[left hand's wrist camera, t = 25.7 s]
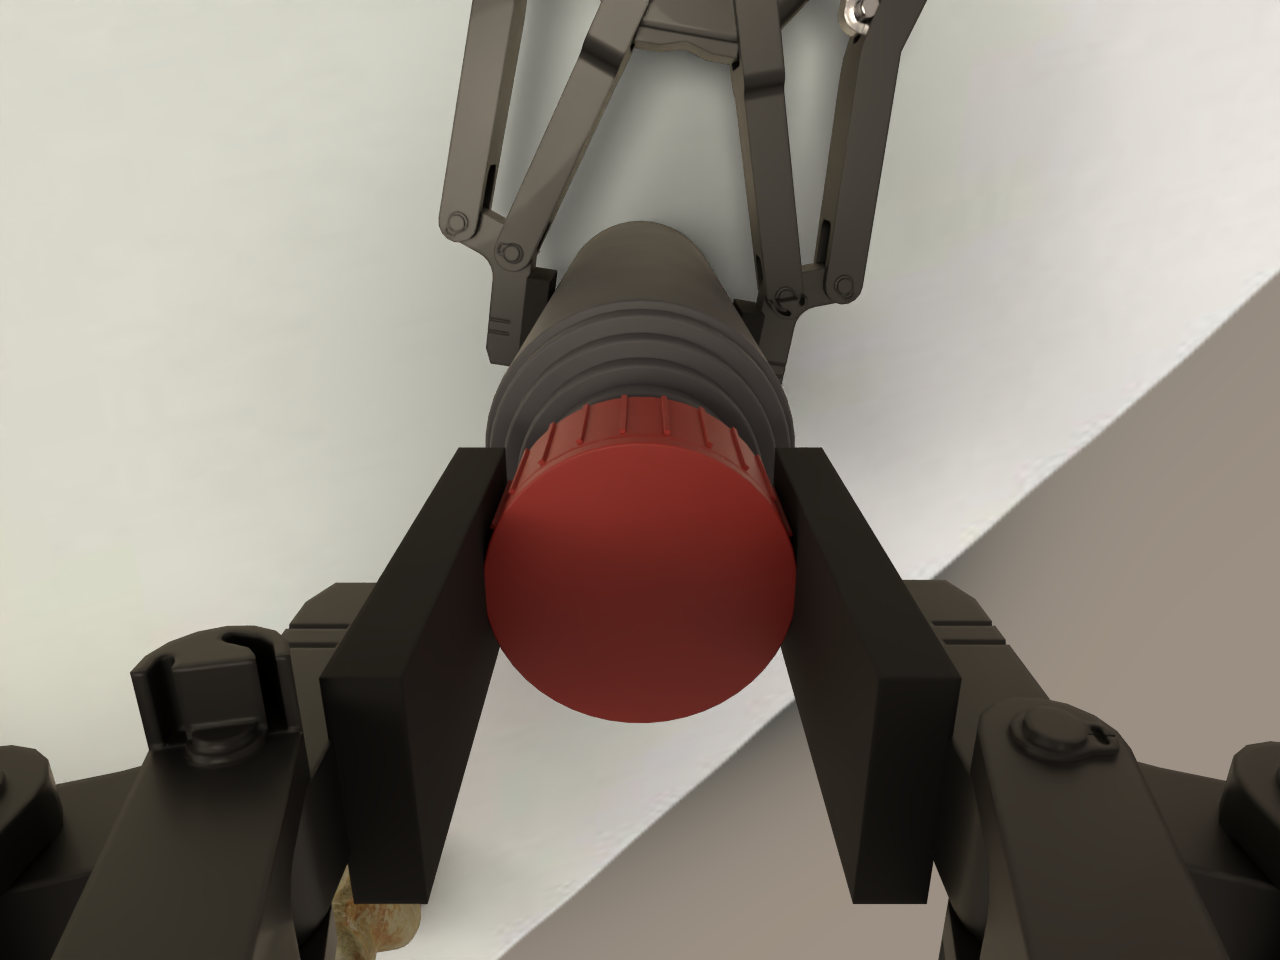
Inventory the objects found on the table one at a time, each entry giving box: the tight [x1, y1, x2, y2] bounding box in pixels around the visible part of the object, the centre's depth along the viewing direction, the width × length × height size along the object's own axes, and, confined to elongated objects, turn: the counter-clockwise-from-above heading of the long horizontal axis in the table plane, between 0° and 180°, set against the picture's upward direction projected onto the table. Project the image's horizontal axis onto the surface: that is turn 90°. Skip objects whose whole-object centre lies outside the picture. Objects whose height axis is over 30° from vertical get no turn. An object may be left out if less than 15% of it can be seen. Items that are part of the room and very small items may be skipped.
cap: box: [484, 395, 797, 723], centre depth 13 cm, size 4×5×2 cm
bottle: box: [486, 221, 795, 487], centre depth 24 cm, size 6×6×24 cm
